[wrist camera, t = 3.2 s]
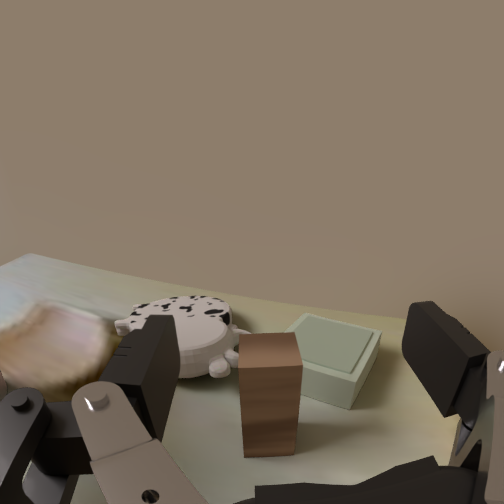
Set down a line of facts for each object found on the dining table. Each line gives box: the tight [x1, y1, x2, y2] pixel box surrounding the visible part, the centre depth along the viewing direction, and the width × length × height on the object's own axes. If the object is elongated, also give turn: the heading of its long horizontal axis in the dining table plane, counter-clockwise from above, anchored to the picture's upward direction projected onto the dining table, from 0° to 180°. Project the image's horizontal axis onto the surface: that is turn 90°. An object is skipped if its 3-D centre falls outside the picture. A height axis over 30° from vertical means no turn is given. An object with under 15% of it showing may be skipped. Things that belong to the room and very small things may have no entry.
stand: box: [284, 313, 382, 410], centre depth 36 cm, size 11×11×4 cm
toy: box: [115, 296, 252, 378], centre depth 43 cm, size 22×5×20 cm
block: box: [238, 332, 303, 458], centre depth 25 cm, size 4×4×11 cm
